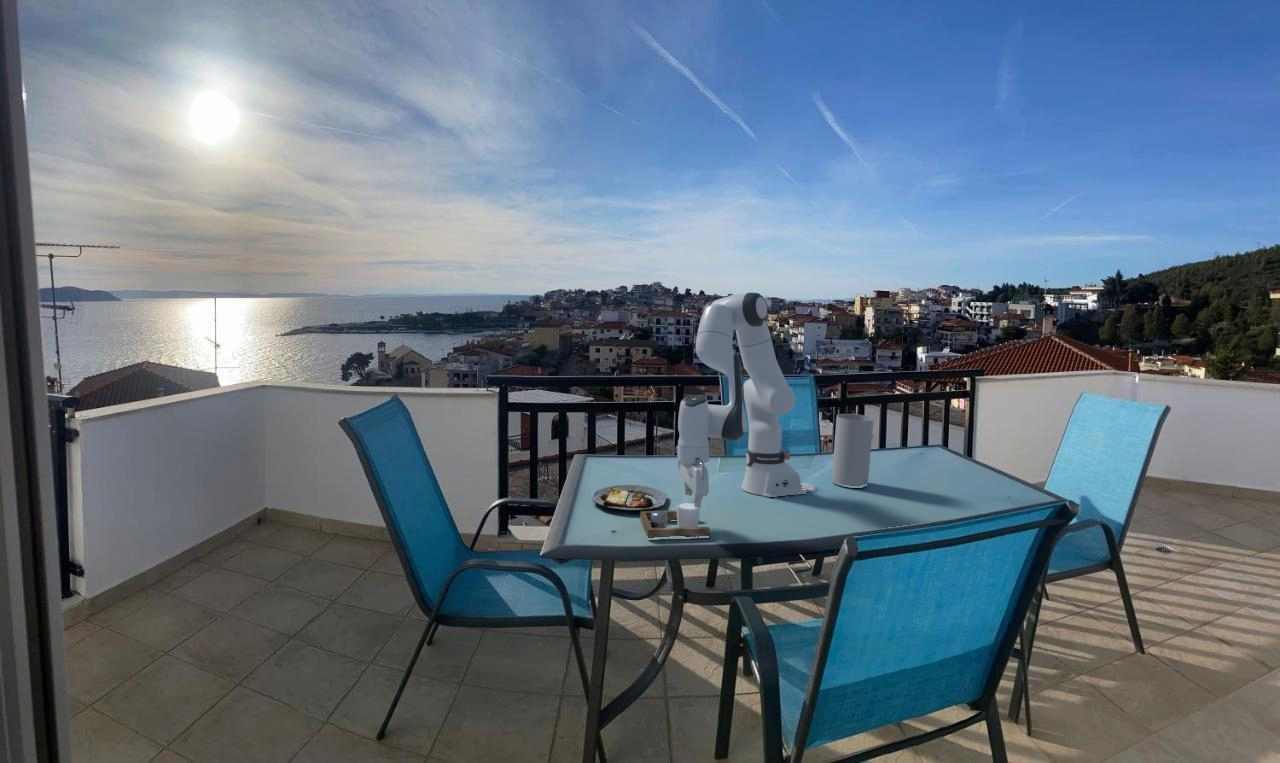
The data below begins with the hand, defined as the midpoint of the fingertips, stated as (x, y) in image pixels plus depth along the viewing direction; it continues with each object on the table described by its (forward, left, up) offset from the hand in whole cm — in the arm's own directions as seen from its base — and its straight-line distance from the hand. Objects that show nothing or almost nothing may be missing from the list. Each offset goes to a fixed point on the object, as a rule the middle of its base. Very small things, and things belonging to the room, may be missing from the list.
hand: (692, 500), depth 171 cm
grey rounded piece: (+10, +1, -8) cm, 13 cm away
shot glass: (+1, 0, -9) cm, 9 cm away
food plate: (+15, -23, -9) cm, 29 cm away
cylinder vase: (-68, -37, -8) cm, 78 cm away
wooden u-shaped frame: (+5, +1, -8) cm, 10 cm away
